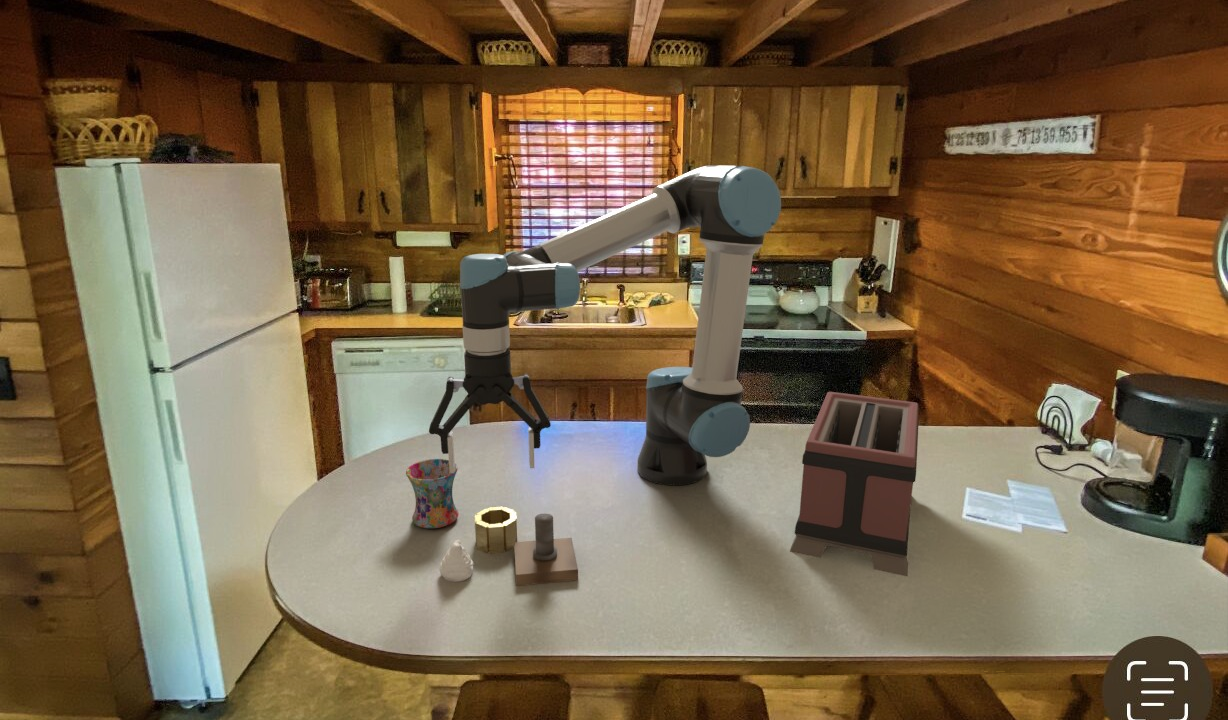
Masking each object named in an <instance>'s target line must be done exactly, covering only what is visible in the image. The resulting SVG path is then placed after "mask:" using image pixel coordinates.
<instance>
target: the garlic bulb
mask: <svg viewBox="0 0 1228 720" xmlns="http://www.w3.org/2000/svg"><path fill="white" fill-rule="evenodd" d="M473 572H474V561H473V560H472V558H471V556H470V554H469V553H468V551H467V549H466V548H465V547H464V546H462V545H461V540H460V539H457V540H455V541H454V542H453V543H452V544H451V547H449V549H448V550H447V551H446V553H445V555H444V556H443V558H442V560H441V562H440V564H439V573H440V575H441V576H442V577H443V579H444V580H446V581H448V582H454V583H459V582H463V581H465V580H466V581H467V580H469V578H471V577H472V575H473Z"/></svg>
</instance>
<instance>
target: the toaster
mask: <svg viewBox="0 0 1228 720" xmlns="http://www.w3.org/2000/svg"><path fill="white" fill-rule="evenodd" d="M919 419H920V414H919V402H918V403H917V402H915V401H907V400H898V399H891V398H884V397H883V398H882V397H874V396H867V395H861V394H860V395H859V394H858V395H857V394H852V393H851V394H850V393H843V392H834V391H828V392H827V393H826V395H825V398H824V399H823V403H822V405H821V407H820V410H819V412H818V415H817V417H816V418H815V422H814V424H813V426H812V428H811V430H810V433H809V435H808V438H807V440H806V443H805V448H804V449H805V450H804V452H803V454H802V462H801V463H802V464H803V468H802V469H803V470H802V481H801V492H800V494H801V495H800V506H799V515H798V518H797V521H796V523H795V527H794V535H795V536H794V539H793V542H792V544H791V547H790V549H789V552H791V553H795V554H799V555H805V556H809V557H814V558H817V559H818V558H819V559H821V558H822V556H823V555H824V552H825V550H826V548H827V546H830V547H833V548H834V547H835V548H839V549H845V550H850V551H855V552H859V553H863V554H869V555H870V557H871V562H872V566H873V570H874V571H880V572H886V573H889V574H893V575H894V574H895V575H899V576H904V577H908V575H909V573H908V572H909V561H908V548H909V547H908V545H909V533H910V532H909V531H910V520H911V519H910V518H911V506H912V505H913V502H912V501H913V496H912V495H913V486H914V483H915V482H916V477H917V463H918V462H917V460H918V444H919V443H918V439H919V421H920V420H919Z"/></svg>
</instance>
